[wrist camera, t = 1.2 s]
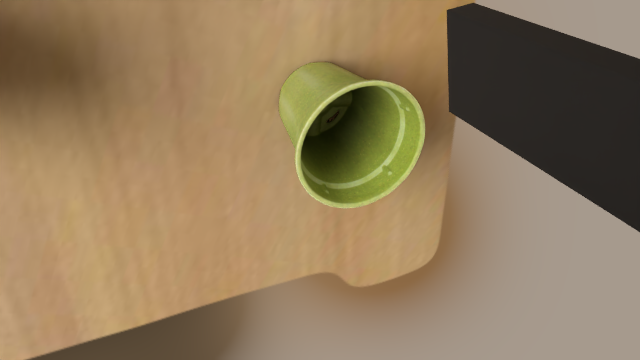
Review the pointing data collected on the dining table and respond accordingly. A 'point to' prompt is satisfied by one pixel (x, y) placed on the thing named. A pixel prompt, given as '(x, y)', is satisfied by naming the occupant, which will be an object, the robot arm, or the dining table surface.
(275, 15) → the dining table surface
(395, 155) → the plant pot
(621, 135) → the robot arm
